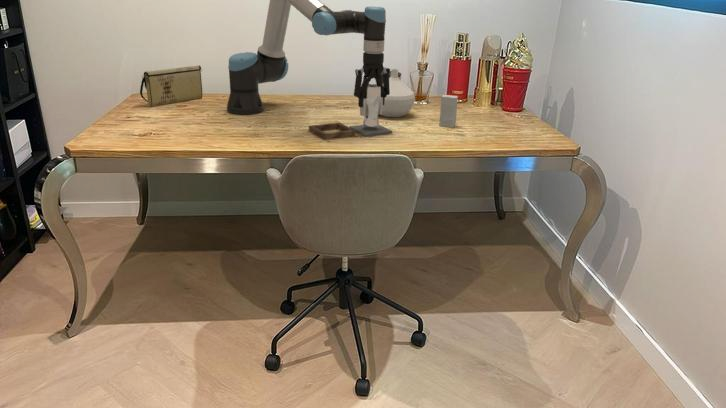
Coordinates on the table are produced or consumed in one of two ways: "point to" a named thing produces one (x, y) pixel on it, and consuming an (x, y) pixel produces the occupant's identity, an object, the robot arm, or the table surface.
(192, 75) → the clutch purse
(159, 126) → the table surface
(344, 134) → the frame
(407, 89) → the vase
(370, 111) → the beer glass
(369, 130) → the slate pad
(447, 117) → the skincare box
